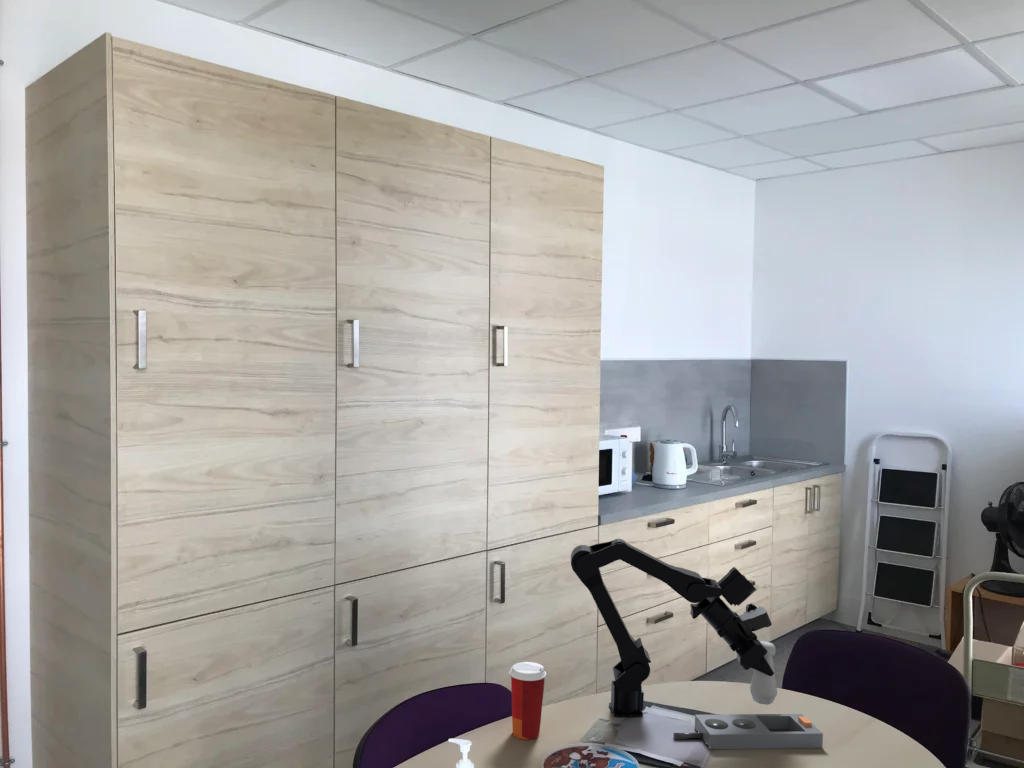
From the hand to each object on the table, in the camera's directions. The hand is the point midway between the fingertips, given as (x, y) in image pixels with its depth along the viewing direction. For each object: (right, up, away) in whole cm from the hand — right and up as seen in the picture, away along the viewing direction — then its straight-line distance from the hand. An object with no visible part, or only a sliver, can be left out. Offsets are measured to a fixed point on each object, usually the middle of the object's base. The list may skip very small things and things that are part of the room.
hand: (770, 671), depth 178 cm
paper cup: (-55, -9, -11) cm, 57 cm away
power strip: (-9, -11, -10) cm, 17 cm away
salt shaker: (-2, -7, 0) cm, 7 cm away
